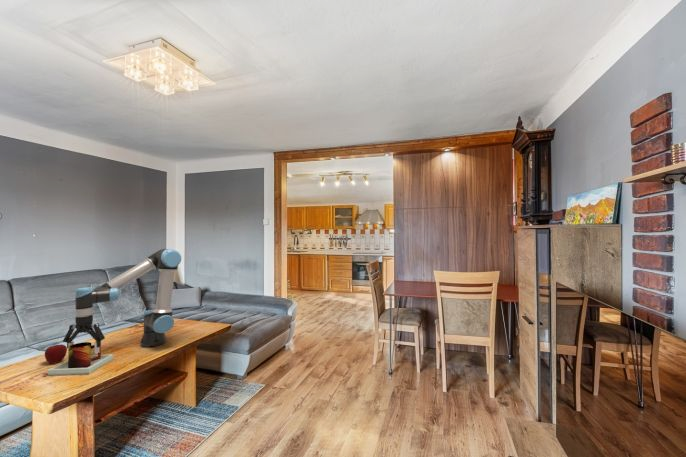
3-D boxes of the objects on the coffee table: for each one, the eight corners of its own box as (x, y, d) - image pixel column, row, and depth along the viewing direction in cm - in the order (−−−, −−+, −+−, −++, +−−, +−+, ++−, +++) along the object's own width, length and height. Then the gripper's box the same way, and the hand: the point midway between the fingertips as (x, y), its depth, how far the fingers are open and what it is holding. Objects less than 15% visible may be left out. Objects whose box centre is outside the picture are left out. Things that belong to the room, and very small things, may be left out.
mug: (101, 360, 179) (101, 339, 179) (80, 370, 165) (81, 348, 165) (84, 360, 179) (85, 339, 179) (62, 370, 165) (63, 348, 165)
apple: (62, 358, 185) (62, 341, 185) (69, 360, 180) (70, 343, 181) (41, 363, 176) (41, 346, 177) (48, 366, 172) (49, 348, 172)
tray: (113, 359, 182) (113, 354, 182) (88, 374, 162) (89, 368, 162) (77, 360, 180) (77, 355, 180) (47, 375, 160) (48, 370, 160)
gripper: (112, 313, 177) (112, 350, 177) (65, 314, 175) (65, 352, 174) (103, 316, 170) (103, 355, 169) (54, 318, 167) (54, 357, 167)
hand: (84, 353), depth 172 cm, fingers open, 13 cm apart
